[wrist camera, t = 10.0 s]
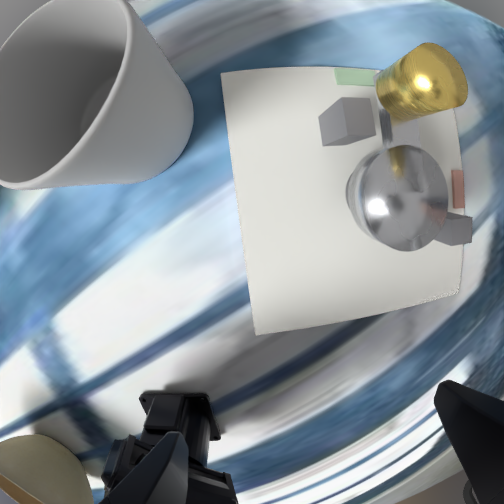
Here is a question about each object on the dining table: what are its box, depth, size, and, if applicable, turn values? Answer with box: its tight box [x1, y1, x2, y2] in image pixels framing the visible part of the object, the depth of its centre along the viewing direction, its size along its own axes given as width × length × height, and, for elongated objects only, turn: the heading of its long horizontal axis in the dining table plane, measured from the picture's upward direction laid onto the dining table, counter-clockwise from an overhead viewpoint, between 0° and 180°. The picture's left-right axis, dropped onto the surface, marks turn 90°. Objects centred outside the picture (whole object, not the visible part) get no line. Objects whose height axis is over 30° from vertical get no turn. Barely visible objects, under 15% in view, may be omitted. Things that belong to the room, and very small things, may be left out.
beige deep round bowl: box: [0, 434, 94, 504], centre depth 20 cm, size 18×18×12 cm
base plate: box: [220, 67, 472, 335], centre depth 16 cm, size 18×18×5 cm
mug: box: [0, 0, 194, 190], centre depth 11 cm, size 12×8×11 cm
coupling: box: [348, 43, 468, 252], centre depth 11 cm, size 10×6×6 cm, turn 5°
